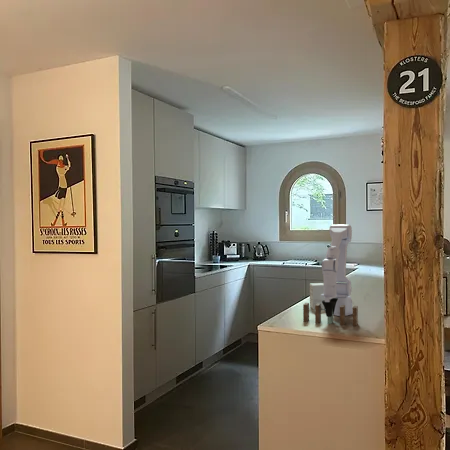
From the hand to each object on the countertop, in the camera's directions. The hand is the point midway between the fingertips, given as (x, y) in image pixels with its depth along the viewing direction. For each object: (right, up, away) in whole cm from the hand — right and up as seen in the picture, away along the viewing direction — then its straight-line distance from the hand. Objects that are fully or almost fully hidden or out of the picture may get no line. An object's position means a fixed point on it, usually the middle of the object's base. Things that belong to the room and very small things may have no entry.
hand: (330, 315), depth 211 cm
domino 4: (+5, -3, -2) cm, 6 cm away
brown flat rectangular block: (+10, -3, -4) cm, 12 cm away
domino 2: (-5, -4, +2) cm, 6 cm away
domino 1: (-10, -4, +4) cm, 12 cm away
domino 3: (0, -4, 0) cm, 4 cm away
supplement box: (+1, -3, +33) cm, 34 cm away
